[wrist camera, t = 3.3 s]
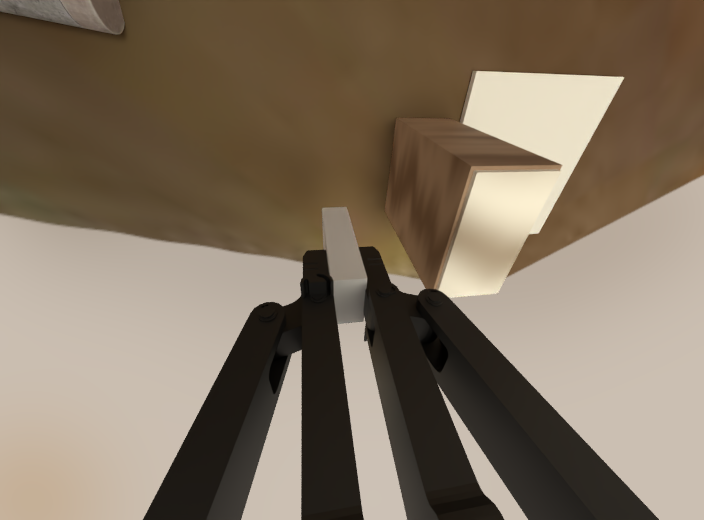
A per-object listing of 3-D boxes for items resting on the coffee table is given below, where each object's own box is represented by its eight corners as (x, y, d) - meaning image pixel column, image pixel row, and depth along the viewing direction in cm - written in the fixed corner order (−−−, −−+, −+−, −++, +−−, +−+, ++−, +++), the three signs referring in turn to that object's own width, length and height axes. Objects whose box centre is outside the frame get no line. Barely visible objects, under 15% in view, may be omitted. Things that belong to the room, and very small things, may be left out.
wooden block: (396, 117, 23) (474, 168, 12) (450, 118, 23) (567, 167, 13) (384, 211, 28) (432, 301, 18) (428, 209, 29) (499, 295, 18)
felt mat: (473, 70, 21) (476, 71, 21) (617, 76, 23) (624, 77, 23) (430, 236, 31) (432, 239, 31) (535, 230, 33) (538, 233, 33)
